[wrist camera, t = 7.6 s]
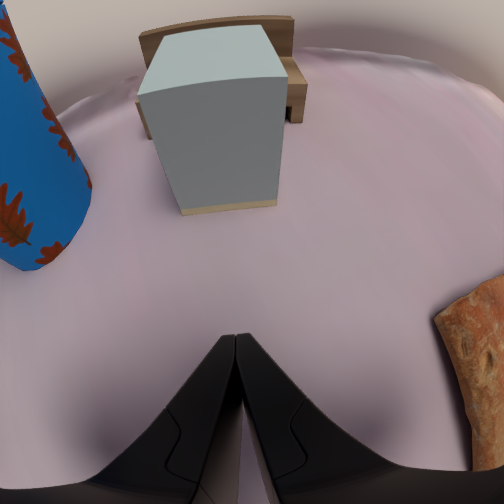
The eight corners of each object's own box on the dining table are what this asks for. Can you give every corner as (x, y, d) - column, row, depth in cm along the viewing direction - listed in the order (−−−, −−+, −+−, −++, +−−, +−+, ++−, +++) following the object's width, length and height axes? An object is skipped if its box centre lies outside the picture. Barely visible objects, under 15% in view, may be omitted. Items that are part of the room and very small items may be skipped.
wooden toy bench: (302, 122, 21) (313, 39, 14) (148, 139, 20) (120, 60, 13) (285, 83, 24) (290, 15, 17) (159, 97, 23) (142, 32, 16)
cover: (276, 206, 17) (288, 76, 9) (183, 216, 17) (136, 95, 9) (253, 97, 23) (251, 10, 14) (190, 104, 23) (174, 18, 14)
